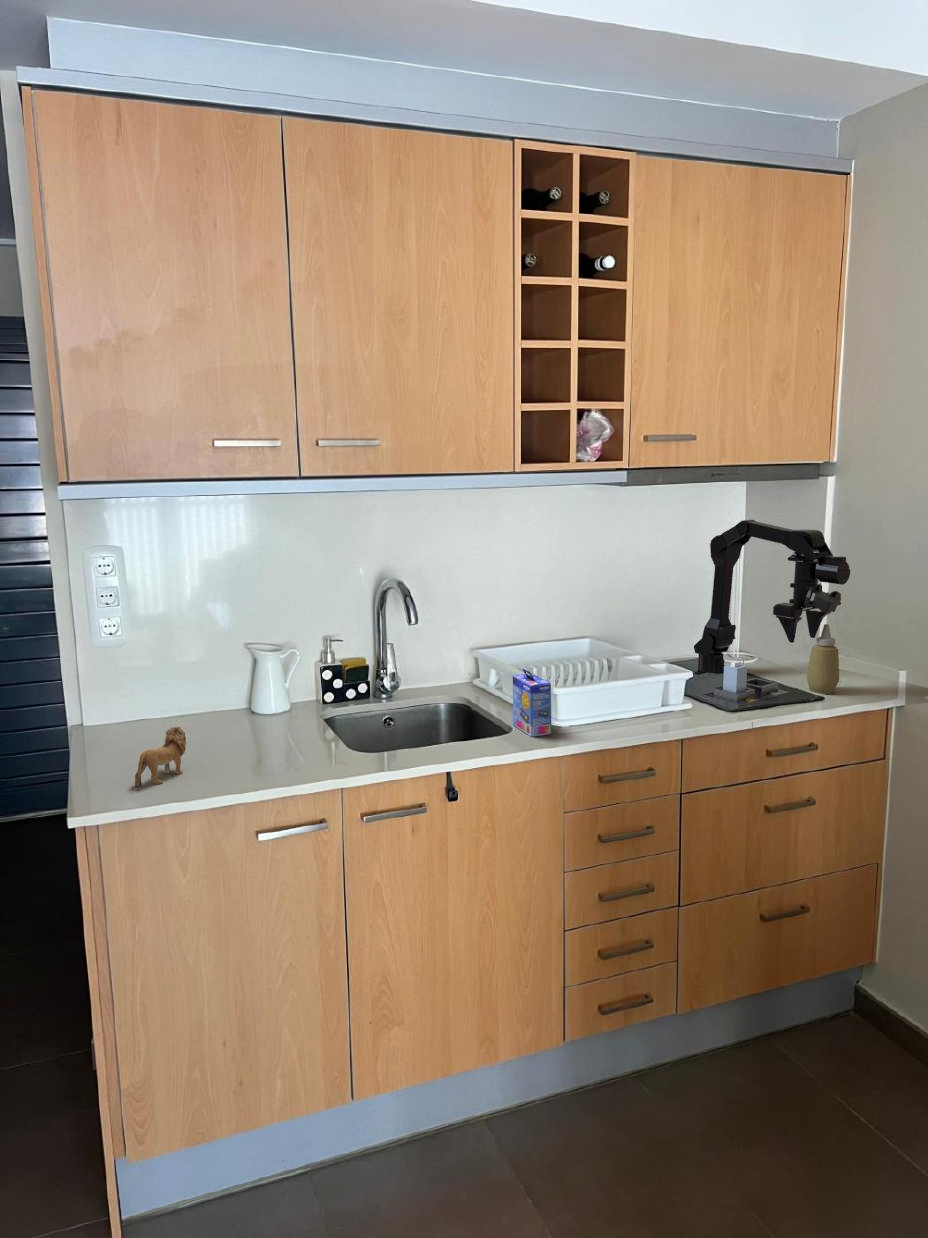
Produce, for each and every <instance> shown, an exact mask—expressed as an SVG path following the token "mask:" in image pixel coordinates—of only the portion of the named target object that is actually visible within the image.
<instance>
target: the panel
mask: <svg viewBox="0 0 928 1238" xmlns="http://www.w3.org/2000/svg"><path fill="white" fill-rule="evenodd" d="M788 693H789V691H787V690H783V689H780V688H779V682H775V681H770V680H766V679H763V678H757V677H753V678H750V679H746V691H742V692H739V693H735V692H731V691H727V690H723V685H721V686H719V687H714V689H713V691H712V692H708V693H704V694H702V696H705V697H710V698H713V699H716V700H720V701H724V702H728V703H731V704H735V705H737V706H738V705H739V706H744V705H747V704H752V703H754V702H758V701H761V700H766V699H771V698H773V697H777V696H780V695H784V694H788Z"/></svg>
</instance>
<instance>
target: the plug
mask: <svg viewBox="0 0 928 1238" xmlns="http://www.w3.org/2000/svg"><path fill="white" fill-rule="evenodd" d="M747 674H748V665H744V664H742V662H741V661H739V660H735V661H732V662H730V663H729V664H726V665H725V664H724V673H723V679H722V680H723V685H722V686H723V690H727V691H731V692H735V693H739V692H742V691H746V680H748V679H747V677H748V675H747Z"/></svg>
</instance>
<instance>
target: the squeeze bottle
mask: <svg viewBox="0 0 928 1238" xmlns="http://www.w3.org/2000/svg"><path fill="white" fill-rule="evenodd" d="M831 634H832V633H831V628H830V624H827V623H826V624H823V627H822V631H821V634H820V636H816V637H815V644H814V645H812V646H811V649H810V656H809V660H808V665H807V666H808V667H807V671H806V680H807V683H808V684H807V685H808V687H809V691H810V692H813V693H817V694H822V695H831V694H834V693H835V690H836V688H837V686H838V683H839V681H840V660H839V659H840V657H839V649H838V647H837V646H835V645H836V639H835V638H834V637H832V636H831Z"/></svg>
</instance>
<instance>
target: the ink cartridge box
mask: <svg viewBox="0 0 928 1238" xmlns="http://www.w3.org/2000/svg"><path fill="white" fill-rule="evenodd" d="M522 671H523V673H521V674H513V675H512V725H513V726H514V727H515V728H517V730H520V731H522V732H523V733H524V734H526V735H527V736H529V737H531V738H532V737H533V738H534V737H540V736H541V737H542V736H547V735H549V736H550V735H552V684H551V682H550V681H549V680H546V679H544V678H541V677H539V675H537V674H534V673H531V671H530V670H527V669H525V668H523V667H522Z"/></svg>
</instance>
